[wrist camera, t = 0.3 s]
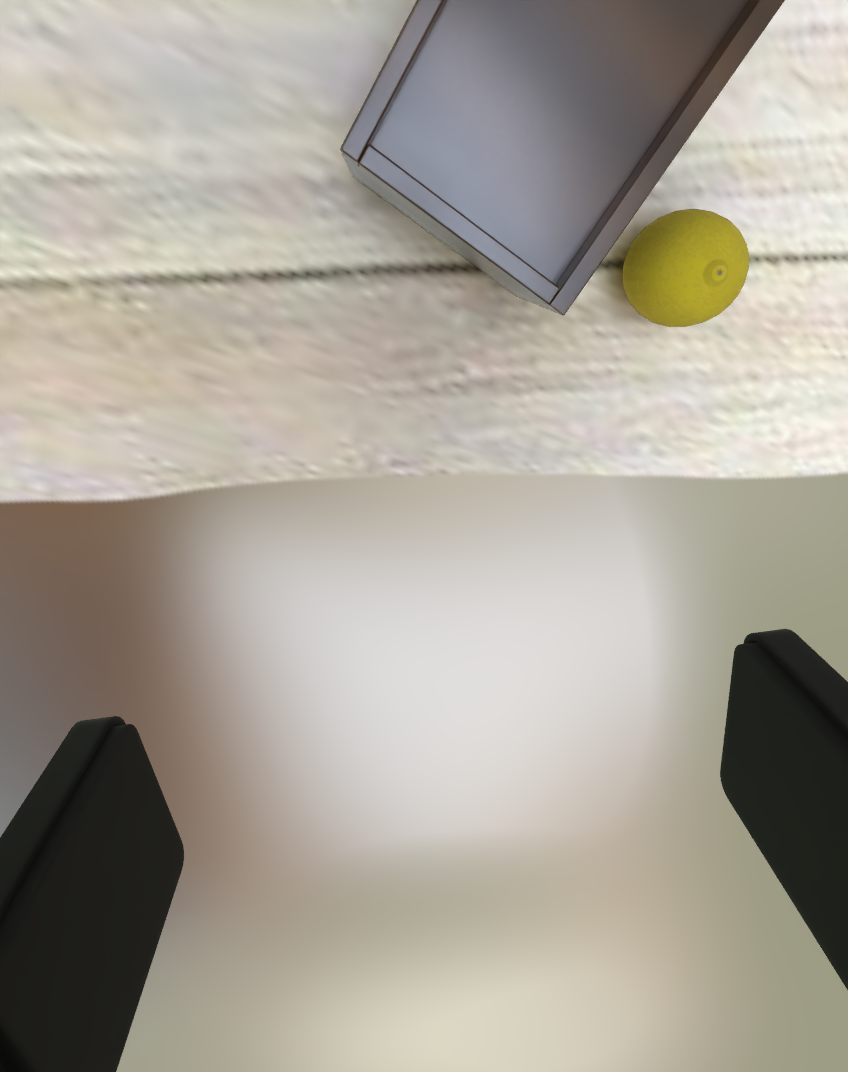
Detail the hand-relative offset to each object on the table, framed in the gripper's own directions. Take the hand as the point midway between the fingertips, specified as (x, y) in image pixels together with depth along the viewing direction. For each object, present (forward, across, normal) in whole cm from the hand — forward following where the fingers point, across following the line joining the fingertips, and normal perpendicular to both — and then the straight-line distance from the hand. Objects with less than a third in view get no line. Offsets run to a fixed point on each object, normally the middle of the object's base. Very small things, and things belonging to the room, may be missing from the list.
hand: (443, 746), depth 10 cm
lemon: (+31, -15, -4) cm, 34 cm away
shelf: (+30, -8, -13) cm, 34 cm away
